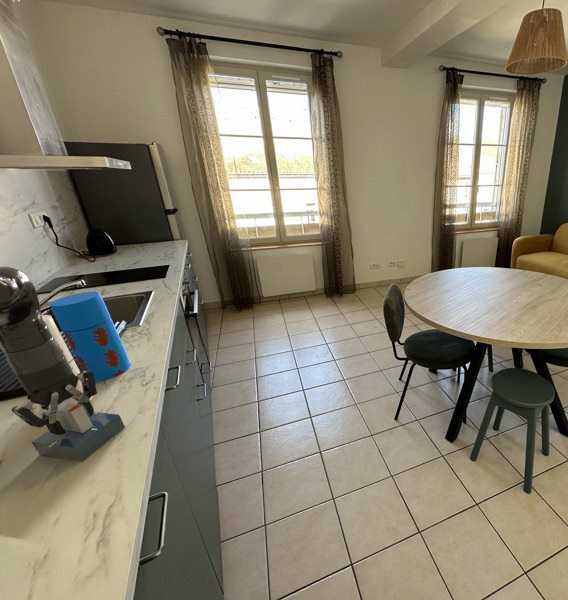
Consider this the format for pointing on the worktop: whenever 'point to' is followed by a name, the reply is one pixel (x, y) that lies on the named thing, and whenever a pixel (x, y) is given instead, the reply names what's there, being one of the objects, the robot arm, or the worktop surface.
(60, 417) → the tap handle
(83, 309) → the thermos
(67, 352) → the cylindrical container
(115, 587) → the worktop surface
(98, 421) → the block
